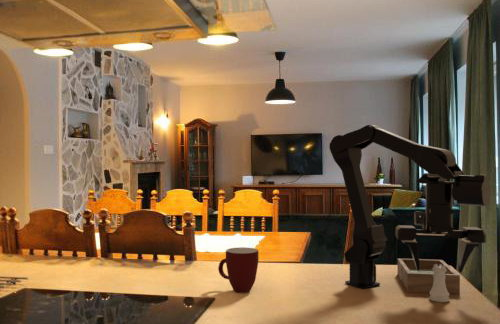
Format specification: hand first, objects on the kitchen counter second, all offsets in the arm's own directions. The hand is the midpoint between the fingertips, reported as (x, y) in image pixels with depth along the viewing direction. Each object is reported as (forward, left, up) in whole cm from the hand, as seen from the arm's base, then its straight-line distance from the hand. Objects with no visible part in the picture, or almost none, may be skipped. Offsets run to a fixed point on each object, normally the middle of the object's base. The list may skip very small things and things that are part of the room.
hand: (438, 271), depth 108 cm
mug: (-35, +32, -7) cm, 48 cm away
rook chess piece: (0, 0, -7) cm, 7 cm away
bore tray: (+10, +11, -7) cm, 16 cm away
